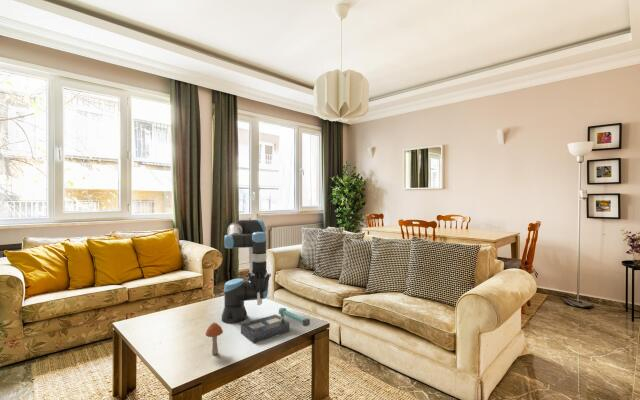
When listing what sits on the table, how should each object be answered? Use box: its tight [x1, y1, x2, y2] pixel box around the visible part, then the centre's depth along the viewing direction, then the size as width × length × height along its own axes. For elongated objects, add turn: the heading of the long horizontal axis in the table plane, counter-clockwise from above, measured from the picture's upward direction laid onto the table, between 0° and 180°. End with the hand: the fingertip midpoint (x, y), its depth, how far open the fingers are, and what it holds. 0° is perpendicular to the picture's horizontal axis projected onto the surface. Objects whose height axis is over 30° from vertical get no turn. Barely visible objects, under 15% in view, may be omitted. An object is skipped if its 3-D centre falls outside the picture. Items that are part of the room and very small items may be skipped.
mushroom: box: [205, 322, 224, 355], centre depth 155 cm, size 8×8×15 cm
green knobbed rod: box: [278, 307, 311, 327], centre depth 178 cm, size 24×4×3 cm, turn 43°
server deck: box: [240, 314, 291, 344], centre depth 179 cm, size 15×23×8 cm, turn 128°
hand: (259, 304), depth 176 cm, fingers closed
